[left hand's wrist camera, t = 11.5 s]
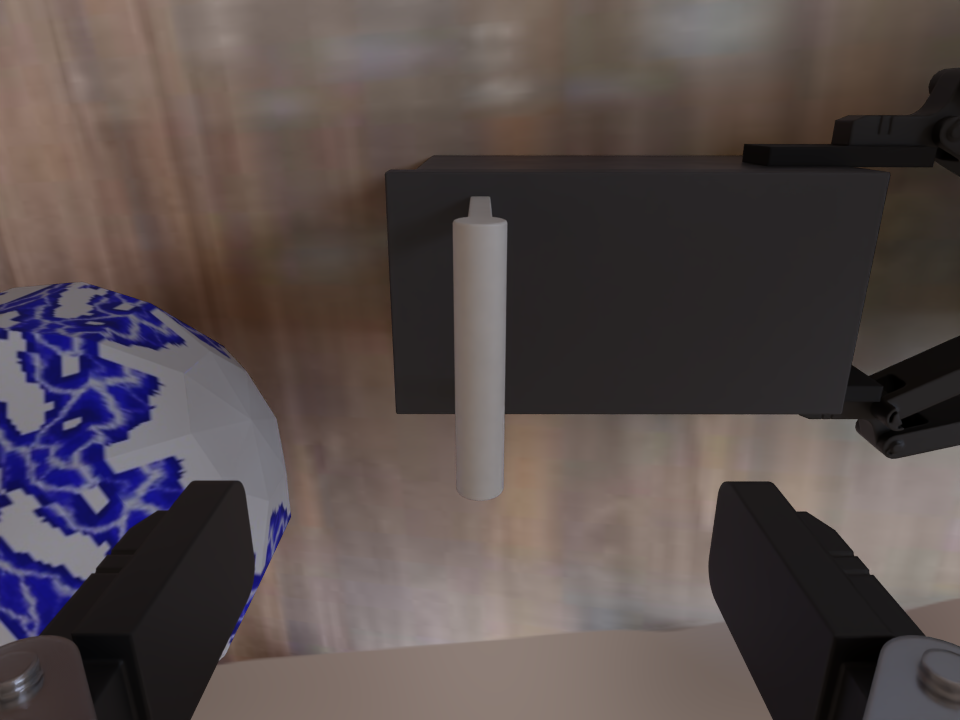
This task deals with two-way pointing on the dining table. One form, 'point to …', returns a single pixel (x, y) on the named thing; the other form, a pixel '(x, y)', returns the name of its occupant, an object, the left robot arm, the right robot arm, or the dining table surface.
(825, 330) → the lid
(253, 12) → the dining table surface
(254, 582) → the ornament
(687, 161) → the chest
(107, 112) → the dining table surface
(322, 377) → the dining table surface
